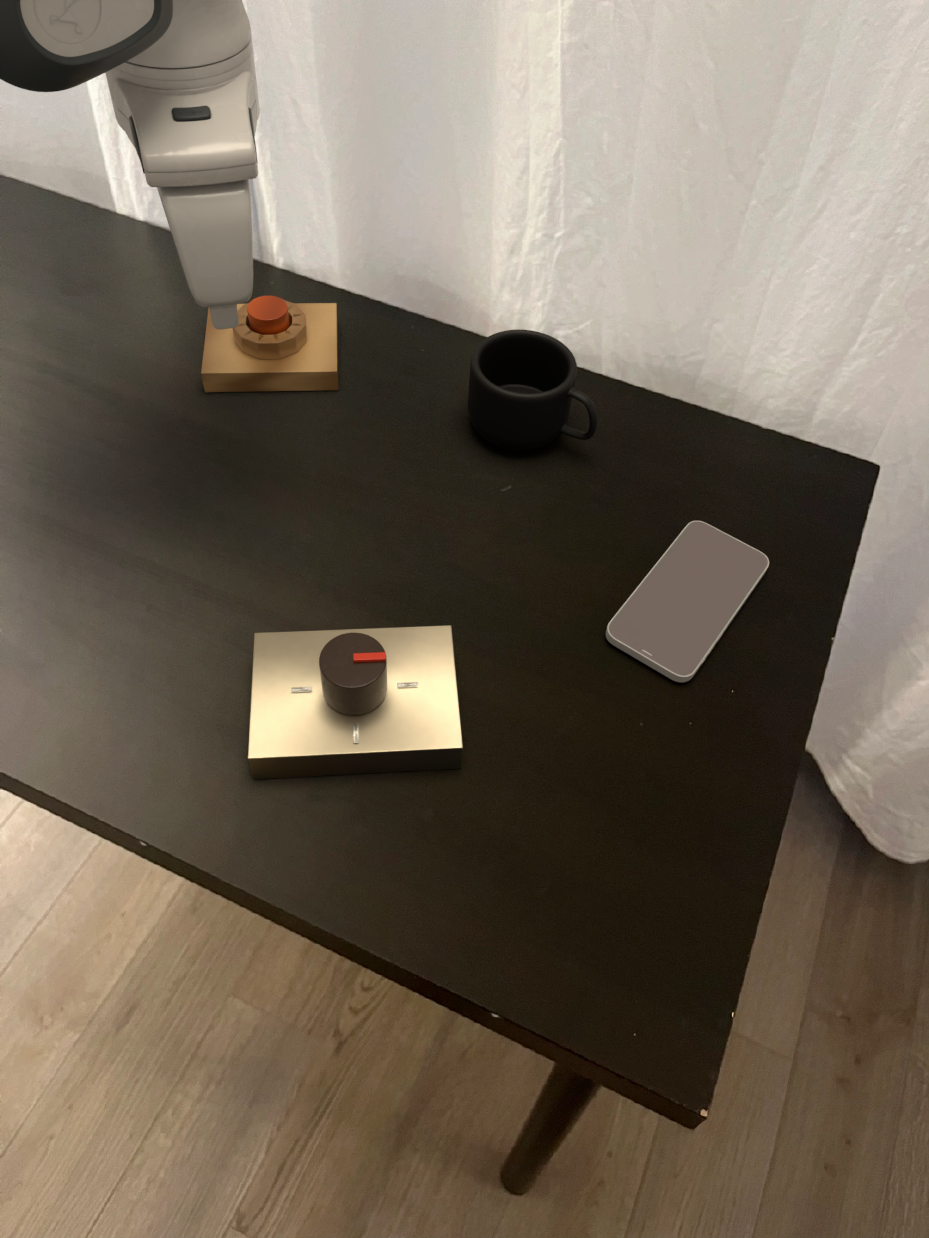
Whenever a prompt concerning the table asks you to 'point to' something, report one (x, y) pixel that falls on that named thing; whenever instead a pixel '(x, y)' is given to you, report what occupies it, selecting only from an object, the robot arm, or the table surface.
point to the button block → (274, 353)
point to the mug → (524, 390)
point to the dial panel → (354, 744)
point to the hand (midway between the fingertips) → (216, 283)
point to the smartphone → (687, 600)
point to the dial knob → (353, 673)
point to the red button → (268, 315)
